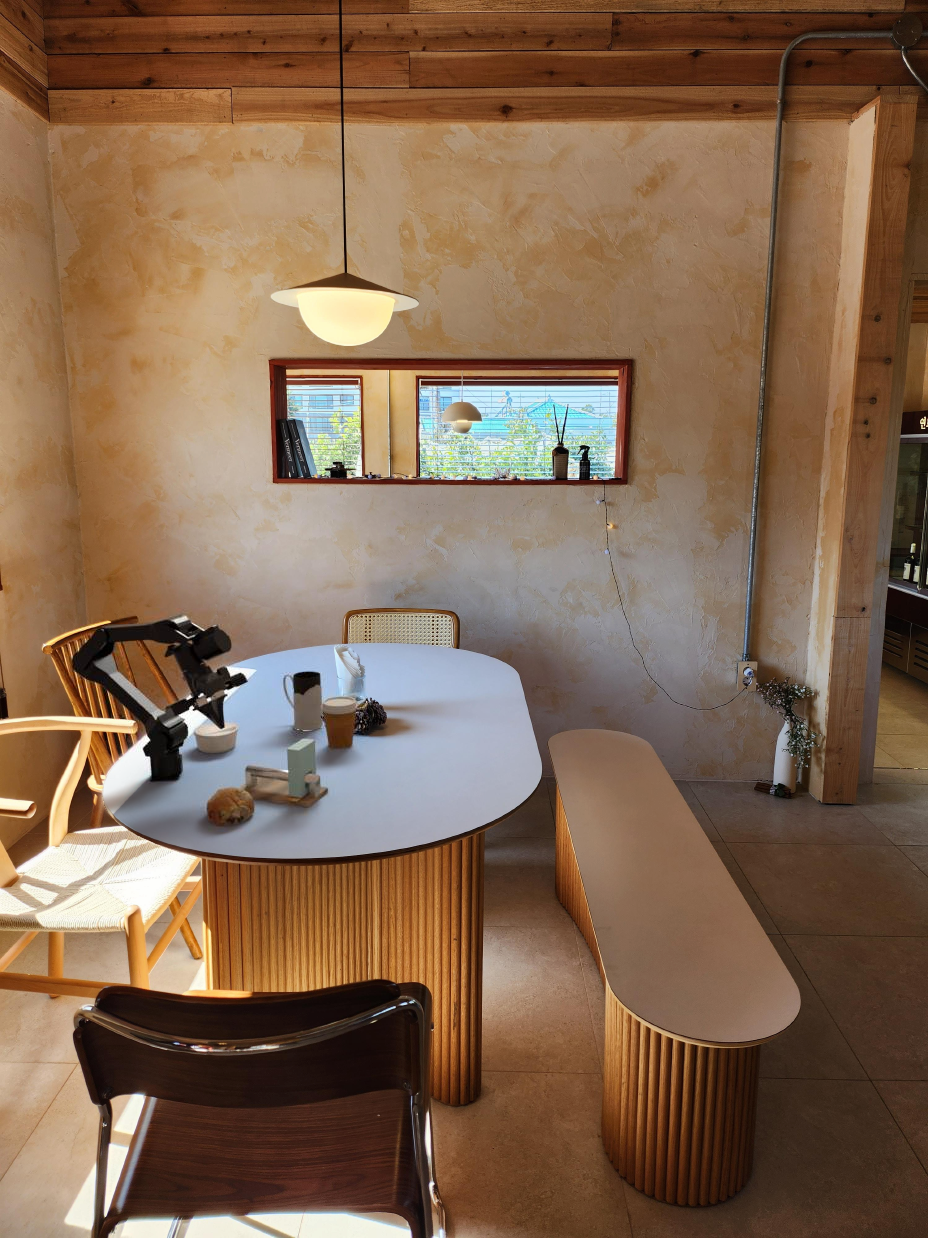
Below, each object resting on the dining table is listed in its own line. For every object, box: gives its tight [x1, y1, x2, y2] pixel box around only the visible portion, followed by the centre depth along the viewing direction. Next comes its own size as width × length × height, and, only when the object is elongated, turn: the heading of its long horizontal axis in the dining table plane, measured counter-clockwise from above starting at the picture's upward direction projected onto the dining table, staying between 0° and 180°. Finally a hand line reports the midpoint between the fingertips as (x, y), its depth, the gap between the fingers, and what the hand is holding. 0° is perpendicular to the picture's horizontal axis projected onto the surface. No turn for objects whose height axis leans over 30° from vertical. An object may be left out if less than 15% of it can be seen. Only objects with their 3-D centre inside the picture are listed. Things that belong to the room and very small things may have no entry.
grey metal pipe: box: [244, 764, 322, 797], centre depth 188 cm, size 18×3×5 cm, turn 71°
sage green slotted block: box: [286, 738, 317, 798], centre depth 186 cm, size 3×7×11 cm, turn 161°
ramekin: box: [193, 721, 239, 754], centre depth 218 cm, size 11×11×5 cm
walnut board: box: [238, 777, 329, 808], centre depth 189 cm, size 19×9×1 cm, turn 71°
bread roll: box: [206, 786, 255, 826], centre depth 177 cm, size 10×10×8 cm
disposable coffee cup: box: [321, 696, 358, 750], centre depth 219 cm, size 10×10×12 cm
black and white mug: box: [282, 670, 324, 731], centre depth 235 cm, size 9×14×15 cm, turn 53°
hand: (222, 728), depth 192 cm, fingers closed
